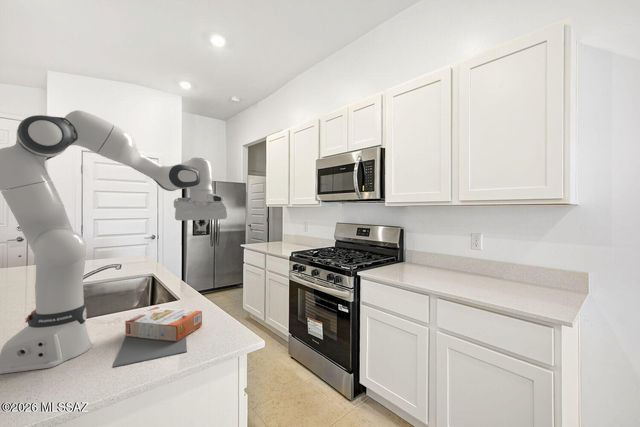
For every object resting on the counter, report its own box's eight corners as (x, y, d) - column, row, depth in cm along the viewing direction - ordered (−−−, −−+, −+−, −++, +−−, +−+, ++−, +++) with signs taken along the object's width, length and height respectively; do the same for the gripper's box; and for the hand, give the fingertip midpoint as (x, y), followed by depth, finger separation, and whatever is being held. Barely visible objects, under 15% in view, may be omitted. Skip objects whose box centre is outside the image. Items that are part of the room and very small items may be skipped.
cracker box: (177, 324, 95) (123, 320, 99) (177, 342, 95) (124, 337, 99) (202, 309, 109) (154, 306, 113) (202, 325, 109) (155, 321, 113)
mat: (113, 367, 81) (112, 366, 81) (126, 335, 101) (126, 334, 101) (186, 352, 90) (186, 351, 90) (185, 325, 109) (185, 324, 109)
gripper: (173, 197, 112) (174, 232, 113) (227, 197, 121) (228, 230, 122) (173, 197, 118) (174, 231, 118) (225, 197, 127) (226, 229, 127)
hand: (202, 230), depth 120 cm, fingers closed
